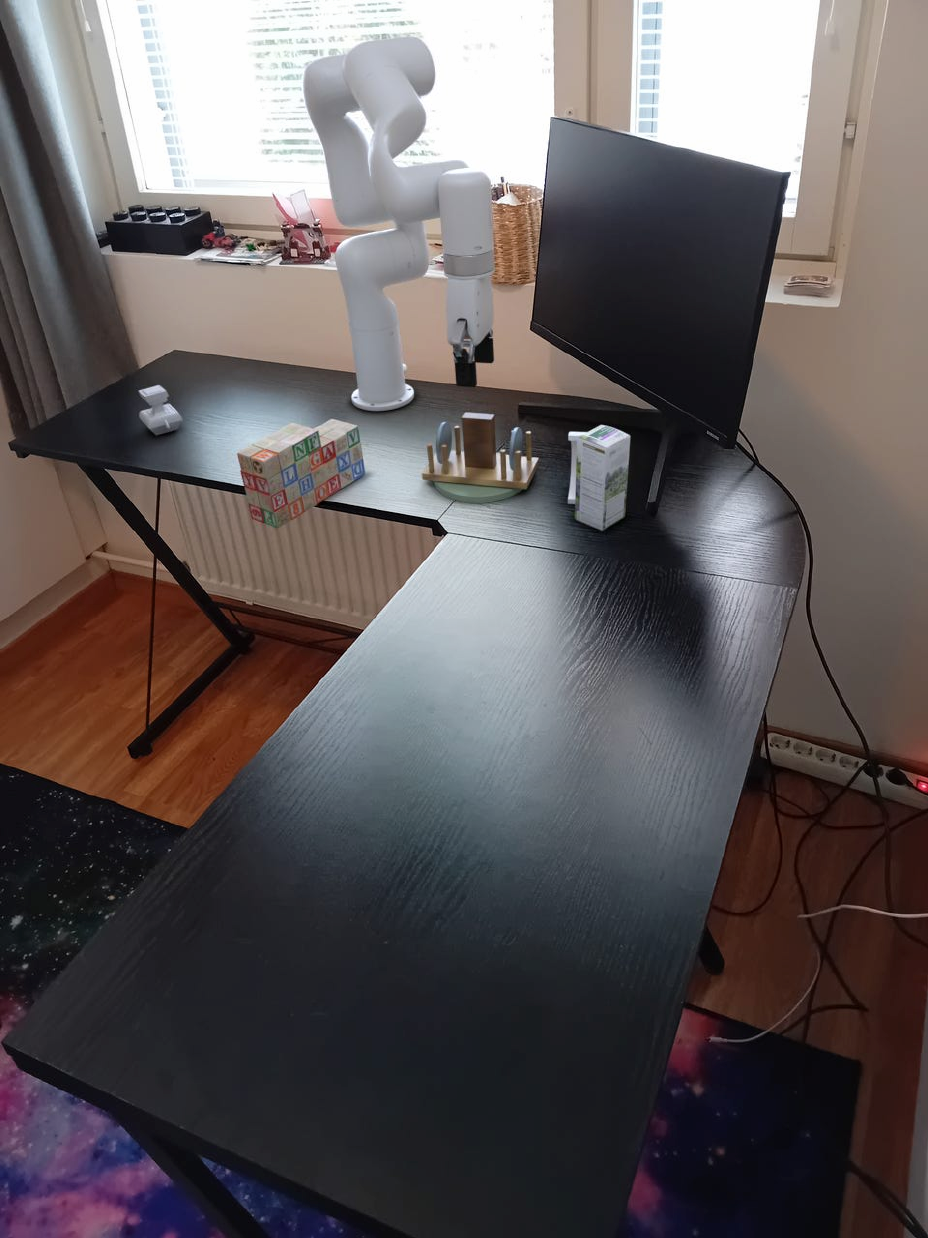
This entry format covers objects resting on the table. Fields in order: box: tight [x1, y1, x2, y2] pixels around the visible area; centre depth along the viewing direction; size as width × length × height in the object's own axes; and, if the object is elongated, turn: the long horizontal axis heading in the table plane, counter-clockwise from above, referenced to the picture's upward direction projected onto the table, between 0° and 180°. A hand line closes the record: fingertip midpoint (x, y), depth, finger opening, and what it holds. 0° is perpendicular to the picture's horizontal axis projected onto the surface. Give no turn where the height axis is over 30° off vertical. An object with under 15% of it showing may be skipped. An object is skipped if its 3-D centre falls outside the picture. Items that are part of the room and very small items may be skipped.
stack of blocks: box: [236, 418, 366, 529], centre depth 155 cm, size 21×6×12 cm, turn 143°
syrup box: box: [574, 424, 631, 532], centre depth 143 cm, size 6×6×14 cm
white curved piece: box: [567, 431, 588, 505], centre depth 150 cm, size 5×6×12 cm
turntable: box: [434, 452, 524, 504], centre depth 160 cm, size 16×16×1 cm
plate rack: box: [421, 411, 540, 490], centre depth 156 cm, size 18×9×10 cm, turn 73°
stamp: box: [138, 384, 183, 436], centre depth 182 cm, size 9×7×8 cm
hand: (475, 373), depth 148 cm, fingers open, 9 cm apart
